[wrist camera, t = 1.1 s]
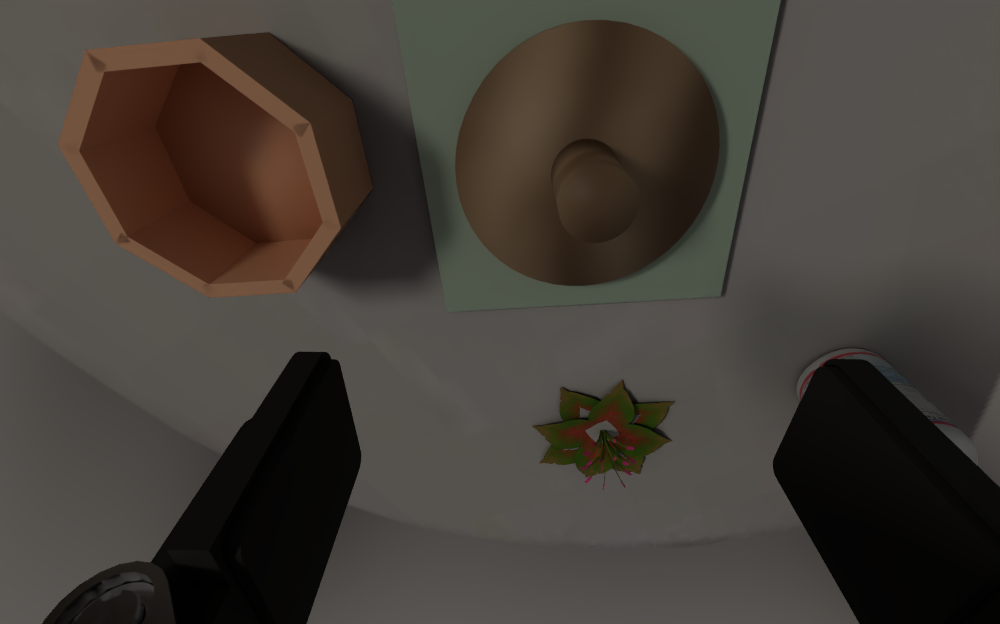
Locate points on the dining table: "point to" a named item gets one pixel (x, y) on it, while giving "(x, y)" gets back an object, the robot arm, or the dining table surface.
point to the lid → (587, 152)
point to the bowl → (217, 159)
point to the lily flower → (604, 433)
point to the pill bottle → (903, 387)
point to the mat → (506, 24)
